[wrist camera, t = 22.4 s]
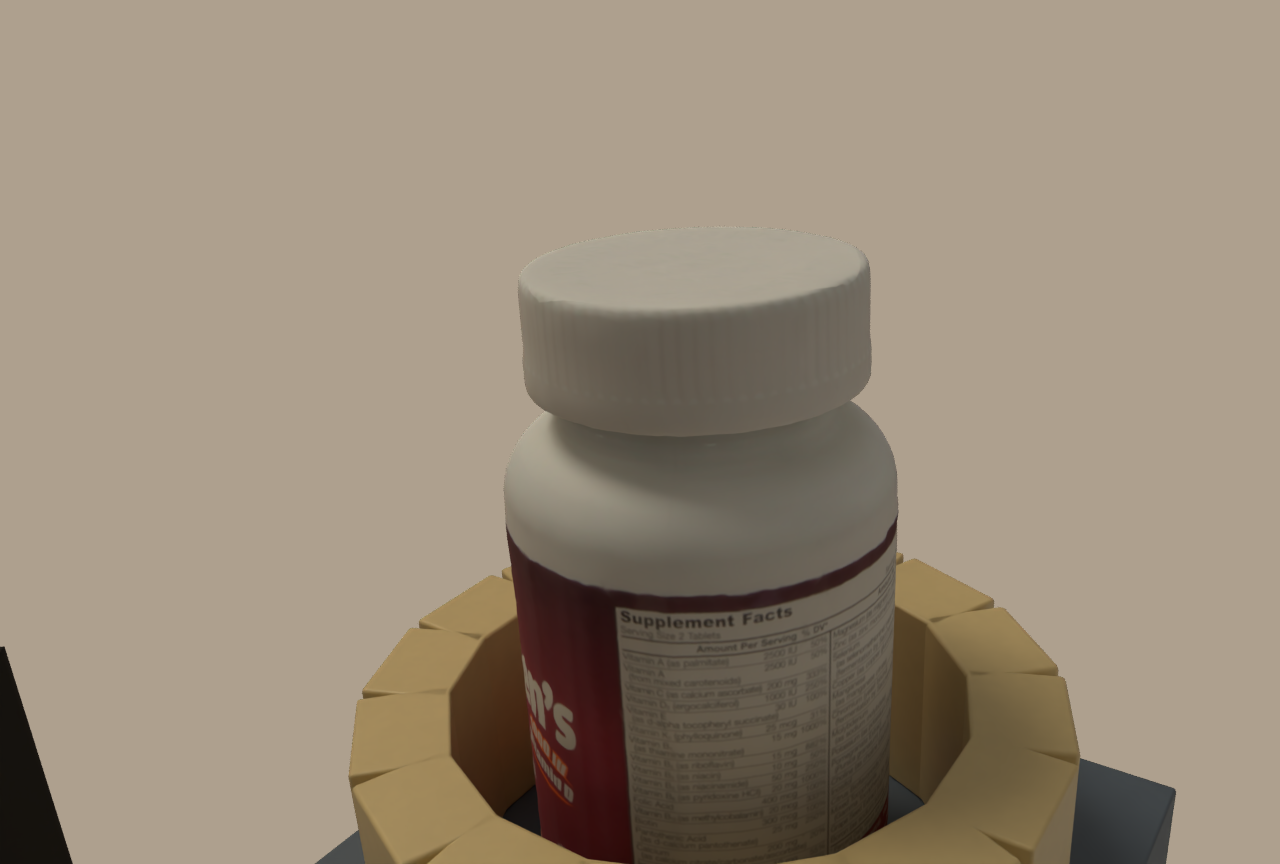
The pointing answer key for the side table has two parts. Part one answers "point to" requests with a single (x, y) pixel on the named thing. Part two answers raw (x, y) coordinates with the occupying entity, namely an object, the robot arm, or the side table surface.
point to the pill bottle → (703, 548)
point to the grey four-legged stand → (885, 860)
